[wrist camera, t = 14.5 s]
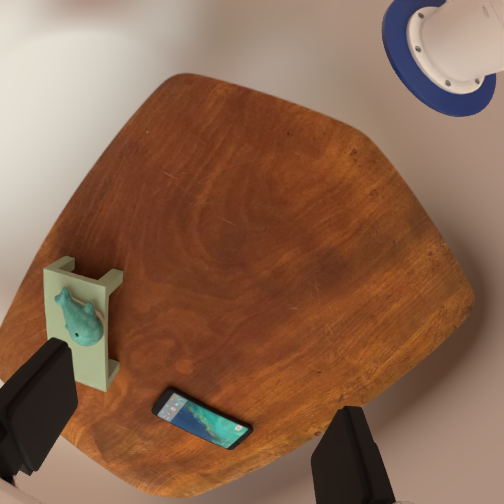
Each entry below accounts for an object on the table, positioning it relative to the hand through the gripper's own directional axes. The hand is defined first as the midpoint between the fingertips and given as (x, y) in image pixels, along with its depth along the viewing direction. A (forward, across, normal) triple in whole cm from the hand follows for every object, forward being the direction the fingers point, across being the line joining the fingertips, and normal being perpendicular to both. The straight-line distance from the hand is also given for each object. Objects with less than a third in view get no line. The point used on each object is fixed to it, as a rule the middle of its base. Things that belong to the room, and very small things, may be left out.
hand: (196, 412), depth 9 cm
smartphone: (+28, 0, +30) cm, 41 cm away
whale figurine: (+22, +16, +12) cm, 30 cm away
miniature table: (+28, +18, +16) cm, 37 cm away
